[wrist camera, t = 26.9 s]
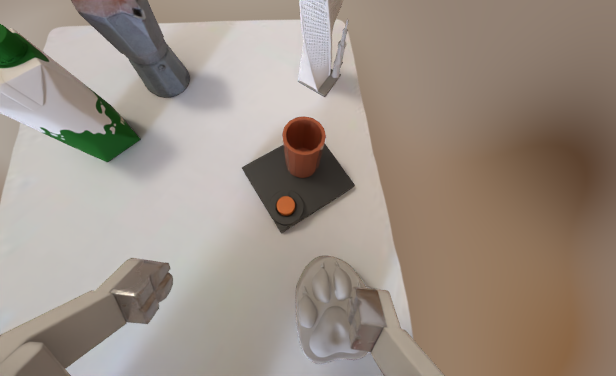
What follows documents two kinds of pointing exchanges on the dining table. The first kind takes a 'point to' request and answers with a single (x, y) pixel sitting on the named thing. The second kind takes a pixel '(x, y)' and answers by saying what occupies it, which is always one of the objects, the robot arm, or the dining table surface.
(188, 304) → the dining table surface
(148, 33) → the moka pot
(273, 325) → the dining table surface
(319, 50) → the skyscraper
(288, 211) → the button
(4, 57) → the milk carton
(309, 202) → the dark grey flat block
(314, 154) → the cup
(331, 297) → the lumpy-topped squat cylinder
